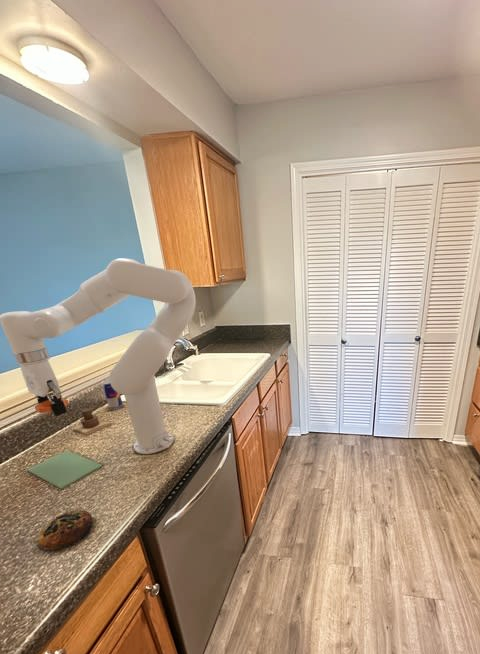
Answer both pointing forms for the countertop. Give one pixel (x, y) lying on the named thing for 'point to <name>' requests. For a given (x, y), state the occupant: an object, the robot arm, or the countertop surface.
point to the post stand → (90, 423)
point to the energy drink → (112, 396)
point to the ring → (47, 406)
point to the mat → (64, 469)
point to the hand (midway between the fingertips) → (54, 411)
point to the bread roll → (65, 529)
